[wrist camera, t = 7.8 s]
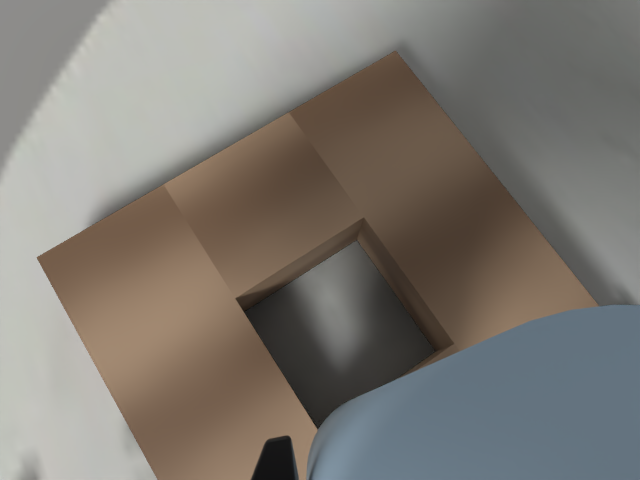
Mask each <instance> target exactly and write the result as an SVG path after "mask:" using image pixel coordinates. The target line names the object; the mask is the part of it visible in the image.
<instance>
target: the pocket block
mask: <svg viewBox="0 0 640 480" xmlns="http://www.w3.org/2000/svg"><path fill="white" fill-rule="evenodd" d="M356 240H358V242H359V243H360V245H361V246H362V248H363V249H364V250H365V252H366V253H367V255H368V256H369V257H370V259H371V260H372V262H373V263H374V265H375V266H376V267H377V269H378V270H379V272H380V273H381V274H382V276H383V277H384V279H385V280H386V282H387V283H388V284H389V286H390V287H391V289H392V290H393V291H394V293H395V294H396V296H397V297H398V299H399V300H400V301H401V303H402V304H403V306H404V307H405V309H406V310H407V311H408V313H409V314H410V316H411V317H412V318H413V320H414V321H415V323H416V324H417V326H418V327H419V328H420V330H421V331H422V333H423V334H424V335H425V337H426V338H427V340H428V341H429V343H430V344H431V345H432V347H433V348H434V350H435V351H436V352H434V353H433V354H432V355H430V356H429V357H427V358H426V359H424V360H423V361H422V362H420V363H419V364H417V365H416V366H414V367H413V368H412V369H410V370H409V371H407V372H406V373H404V374H403V375H402V376H400V377H399V378H401V377H403V376H405V375H408V374H410V373H412V372H414V371H417V370H419V369H421V368H423V367H426V366H428V365H430V364H432V363H435V362H437V361H439V360H441V359H444V358H446V357H448V356H450V355H453V354H455V353H457V352H459V351H462V350H464V349H466V348H468V347H471V346H473V345H475V344H477V343H480V342H482V341H484V340H486V339H489V338H491V337H493V336H495V335H498V334H500V333H503V332H505V331H507V330H510V329H512V328H514V327H517V326H519V325H521V324H524V323H526V322H528V321H531V320H535V319H539V318H542V317H546V316H550V315H554V314H557V313H561V312H565V311H569V310H574V309H582V308H590V307H598V306H599V305H598V304H597V303H596V301H595V300H594V299H593V298H592V296H591V295H590V294H589V293H588V291H587V290H586V289H585V288H584V286H583V285H582V284H581V283H580V281H579V280H578V279H577V278H576V276H575V275H574V274H573V273H572V271H571V270H570V269H569V267H568V266H567V265H566V264H565V262H564V261H563V260H562V259H561V257H560V256H559V255H558V254H557V252H556V251H555V250H554V249H553V247H552V246H551V245H550V244H549V242H548V241H547V240H546V239H545V237H544V236H543V235H542V234H541V232H540V231H539V230H538V229H537V227H536V226H535V225H534V224H533V222H532V221H531V220H530V219H529V217H528V216H527V215H526V214H525V212H524V211H523V210H522V208H521V207H520V206H519V205H518V203H517V202H516V201H515V200H514V198H513V197H512V196H511V195H510V193H509V192H508V191H507V190H506V188H505V187H504V186H503V185H502V183H501V182H500V181H499V180H498V178H497V177H496V176H495V175H494V173H493V172H492V171H491V170H490V168H489V167H488V166H487V165H486V163H485V162H484V161H483V160H482V158H481V157H480V156H479V155H478V153H477V152H476V151H475V149H474V148H473V147H472V146H471V144H470V143H469V142H468V141H467V139H466V138H465V137H464V136H463V134H462V133H461V132H460V131H459V129H458V128H457V127H456V126H455V124H454V123H453V122H452V121H451V119H450V118H449V117H448V116H447V114H446V113H445V112H444V111H443V109H442V108H441V107H440V106H439V104H438V103H437V102H436V101H435V99H434V98H433V97H432V96H431V94H430V93H429V92H428V90H427V89H426V88H425V87H424V85H423V84H422V83H421V82H420V80H419V79H418V78H417V77H416V75H415V74H414V73H413V72H412V70H411V69H410V68H409V67H408V65H407V64H406V63H405V62H404V60H403V59H402V58H401V57H400V55H399V54H398V53H397V52H396V51H394V52H392V53H391V54H389V55H387V56H385V57H384V58H382V59H380V60H379V61H377V62H375V63H373V64H372V65H370V66H368V67H366V68H365V69H363V70H361V71H359V72H358V73H356V74H354V75H352V76H351V77H349V78H347V79H346V80H344V81H342V82H340V83H339V84H337V85H335V86H333V87H332V88H330V89H328V90H326V91H325V92H323V93H321V94H319V95H318V96H316V97H314V98H313V99H311V100H309V101H307V102H306V103H304V104H302V105H300V106H299V107H297V108H295V109H293V110H292V111H290V112H288V113H286V114H285V115H283V116H281V117H280V118H278V119H276V120H274V121H273V122H271V123H269V124H267V125H266V126H264V127H262V128H260V129H259V130H257V131H255V132H254V133H252V134H250V135H248V136H247V137H245V138H243V139H241V140H240V141H238V142H236V143H234V144H233V145H231V146H229V147H227V148H226V149H224V150H222V151H221V152H219V153H217V154H215V155H214V156H212V157H210V158H208V159H207V160H205V161H203V162H201V163H200V164H198V165H196V166H194V167H193V168H191V169H189V170H188V171H186V172H184V173H182V174H181V175H179V176H177V177H175V178H174V179H172V180H170V181H168V182H167V183H165V184H163V185H161V186H160V187H158V188H156V189H155V190H153V191H151V192H149V193H148V194H146V195H144V196H142V197H141V198H139V199H137V200H135V201H134V202H132V203H130V204H128V205H127V206H125V207H123V208H122V209H120V210H118V211H116V212H115V213H113V214H111V215H109V216H108V217H106V218H104V219H102V220H101V221H99V222H97V223H96V224H94V225H92V226H90V227H89V228H87V229H85V230H83V231H82V232H80V233H78V234H76V235H75V236H73V237H71V238H69V239H68V240H66V241H64V242H63V243H61V244H59V245H57V246H56V247H54V248H52V249H50V250H49V251H47V252H45V253H43V254H42V255H40V256H38V257H37V259H38V261H39V263H40V265H41V266H42V268H43V270H44V272H45V274H46V276H47V277H48V279H49V281H50V283H51V285H52V287H53V288H54V290H55V292H56V294H57V296H58V298H59V299H60V301H61V303H62V305H63V307H64V309H65V311H66V312H67V314H68V316H69V318H70V320H71V322H72V323H73V325H74V327H75V329H76V331H77V333H78V334H79V336H80V338H81V340H82V342H83V344H84V345H85V347H86V349H87V351H88V353H89V355H90V356H91V358H92V360H93V362H94V364H95V366H96V367H97V369H98V371H99V373H100V375H101V377H102V378H103V380H104V382H105V384H106V386H107V388H108V389H109V391H110V393H111V395H112V397H113V399H114V400H115V402H116V404H117V406H118V408H119V410H120V411H121V413H122V415H123V417H124V419H125V421H126V422H127V424H128V426H129V428H130V430H131V432H132V433H133V435H134V437H135V439H136V441H137V443H138V445H139V446H140V448H141V450H142V452H143V454H144V456H145V457H146V459H147V461H148V463H149V465H150V467H151V468H152V470H153V472H154V474H155V476H156V478H157V479H158V480H251V477H252V475H253V472H254V469H255V467H256V464H257V462H258V459H259V456H260V454H261V451H262V449H263V446H264V444H265V442H266V441H267V440H268V439H270V438H275V437H280V436H286V435H288V436H290V437H291V440H292V444H293V450H294V455H295V460H296V465H297V470H298V476H299V480H306V474H307V461H308V454H309V451H310V447H311V444H312V441H313V439H314V436H315V434H316V433H317V431H318V429H317V427H316V426H315V424H314V423H313V421H312V419H311V418H310V416H309V415H308V413H307V412H306V410H305V408H304V407H303V405H302V404H301V402H300V400H299V399H298V397H297V396H296V394H295V392H294V391H293V389H292V388H291V386H290V384H289V383H288V381H287V380H286V378H285V376H284V375H283V373H282V372H281V370H280V369H279V367H278V365H277V364H276V362H275V361H274V359H273V357H272V356H271V354H270V353H269V351H268V349H267V348H266V346H265V345H264V343H263V341H262V340H261V338H260V337H259V335H258V333H257V332H256V330H255V329H254V327H253V326H252V324H251V322H250V321H249V319H248V318H247V316H246V314H245V313H244V311H246V310H248V309H249V308H251V307H252V306H254V305H255V304H257V303H259V302H260V301H262V300H263V299H265V298H266V297H268V296H270V295H271V294H273V293H274V292H276V291H277V290H279V289H280V288H282V287H284V286H285V285H287V284H288V283H290V282H291V281H293V280H295V279H296V278H298V277H299V276H301V275H302V274H304V273H306V272H307V271H309V270H310V269H312V268H313V267H315V266H317V265H318V264H320V263H321V262H323V261H324V260H326V259H328V258H329V257H331V256H332V255H334V254H335V253H337V252H339V251H340V250H342V249H343V248H345V247H346V246H348V245H349V244H351V243H353V242H354V241H356ZM399 378H397V379H399Z"/></svg>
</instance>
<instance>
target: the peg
mask: <svg viewBox="0 0 640 480" xmlns="http://www.w3.org/2000/svg"><path fill="white" fill-rule="evenodd" d="M306 480H640V305H606V306H598V307H590V308H582V309H574V310H569V311H565V312H561V313H557V314H554V315H550V316H546V317H542V318H539V319H535V320H531V321H528V322H526V323H524V324H521V325H519V326H517V327H514V328H512V329H510V330H507V331H505V332H503V333H500V334H498V335H495V336H493V337H491V338H489V339H486V340H484V341H482V342H480V343H477V344H475V345H473V346H471V347H468V348H466V349H464V350H462V351H459V352H457V353H455V354H453V355H450V356H448V357H446V358H444V359H441V360H439V361H437V362H435V363H432V364H430V365H428V366H426V367H423V368H421V369H419V370H417V371H414V372H412V373H410V374H408V375H405V376H403V377H401V378H399V379H396V380H394V381H392V382H390V383H387V384H385V385H383V386H381V387H378V388H376V389H374V390H372V391H369V392H367V393H365V394H363V395H360V396H358V397H356V398H354V399H351V400H349V401H347V402H346V403H344V404H342V405H341V406H339V407H338V408H337V409H335V410H334V411H333V412H332V413H331V414H330V415H329V416H328V417H327V418H326V419H325V420H324V422H323V423H322V425H321V426H320V427H319V429H318V431H317V433H316V434H315V436H314V439H313V441H312V444H311V447H310V451H309V454H308V461H307V474H306Z"/></svg>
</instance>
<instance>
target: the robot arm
mask: <svg viewBox="0 0 640 480" xmlns="http://www.w3.org/2000/svg"><path fill="white" fill-rule="evenodd" d="M251 480H299V476H298V470H297V465H296V460H295V455H294V450H293V444H292V440H291V437H290V436H288V435H286V436H280V437H275V438H270V439H268V440H267V441H266V442H265V444H264V446H263V449H262V451H261V454H260V456H259V459H258V462H257V464H256V467H255V469H254V472H253V475H252V477H251Z"/></svg>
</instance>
